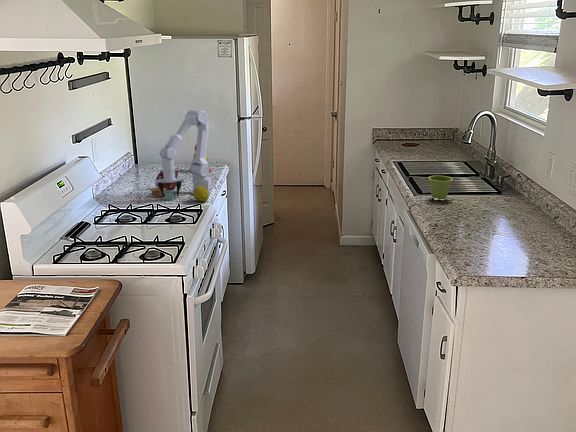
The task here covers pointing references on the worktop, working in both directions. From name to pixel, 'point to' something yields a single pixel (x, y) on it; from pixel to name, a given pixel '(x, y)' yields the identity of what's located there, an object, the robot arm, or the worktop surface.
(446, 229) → the worktop surface
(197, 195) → the lemon
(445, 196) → the plant pot
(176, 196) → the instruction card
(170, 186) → the toy fire truck
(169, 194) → the teal block
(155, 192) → the walnut block
